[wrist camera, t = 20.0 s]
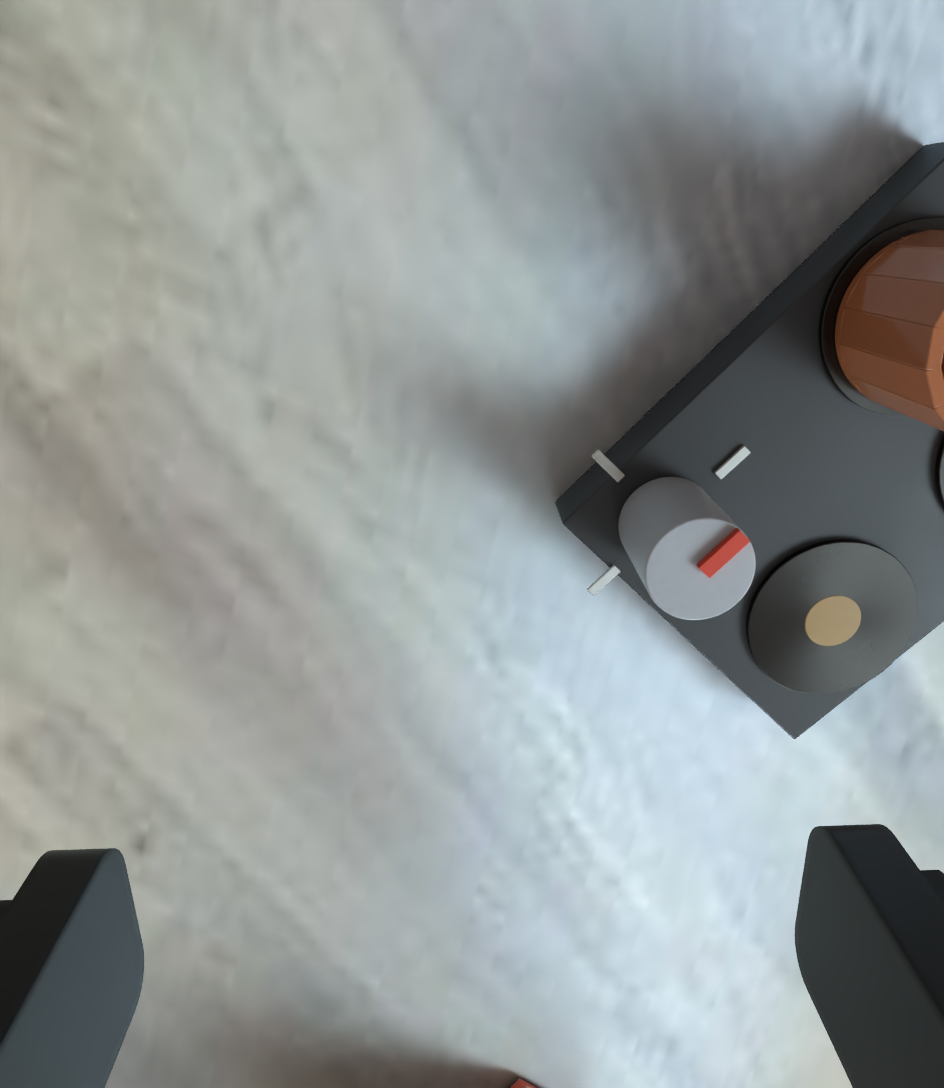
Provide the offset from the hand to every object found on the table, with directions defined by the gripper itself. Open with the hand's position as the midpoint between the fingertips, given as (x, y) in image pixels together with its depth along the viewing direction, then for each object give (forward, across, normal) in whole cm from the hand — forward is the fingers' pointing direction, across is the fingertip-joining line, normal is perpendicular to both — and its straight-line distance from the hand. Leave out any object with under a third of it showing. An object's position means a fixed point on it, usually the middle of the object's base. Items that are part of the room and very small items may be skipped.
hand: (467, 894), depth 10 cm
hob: (+24, -15, +2) cm, 29 cm away
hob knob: (+22, -8, +3) cm, 23 cm away
